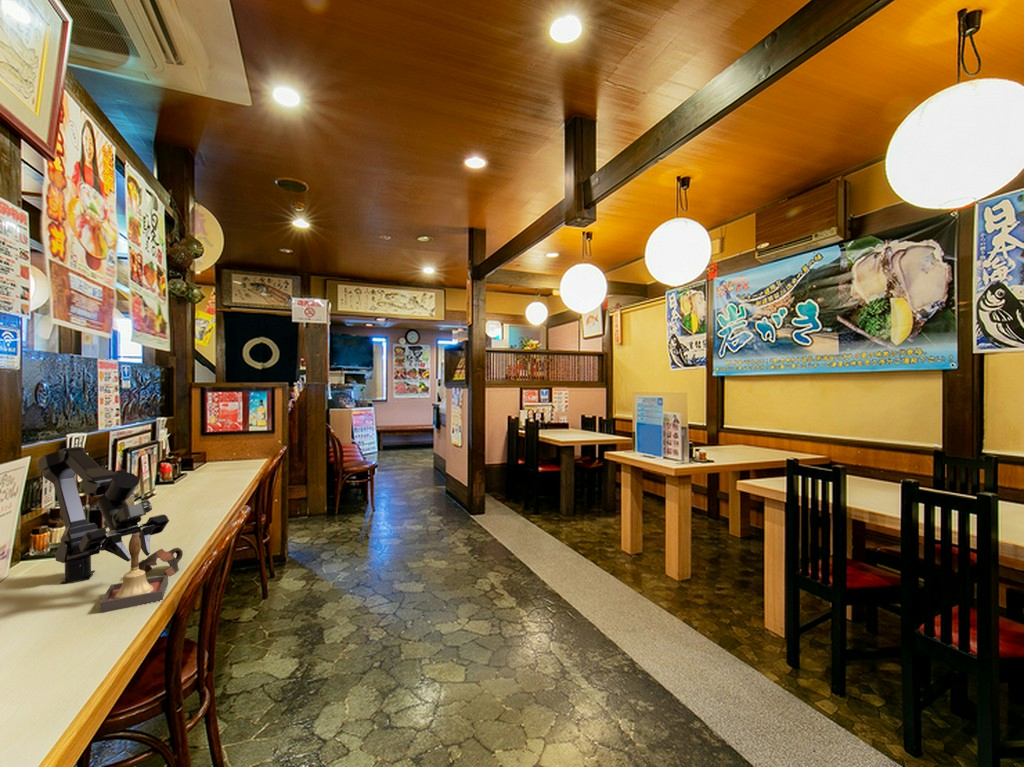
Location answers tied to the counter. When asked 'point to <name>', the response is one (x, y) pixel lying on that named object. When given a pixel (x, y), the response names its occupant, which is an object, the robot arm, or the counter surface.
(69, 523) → the robot arm
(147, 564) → the brown curved piece
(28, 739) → the counter surface
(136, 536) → the hand bell
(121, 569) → the counter surface
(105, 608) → the tray
